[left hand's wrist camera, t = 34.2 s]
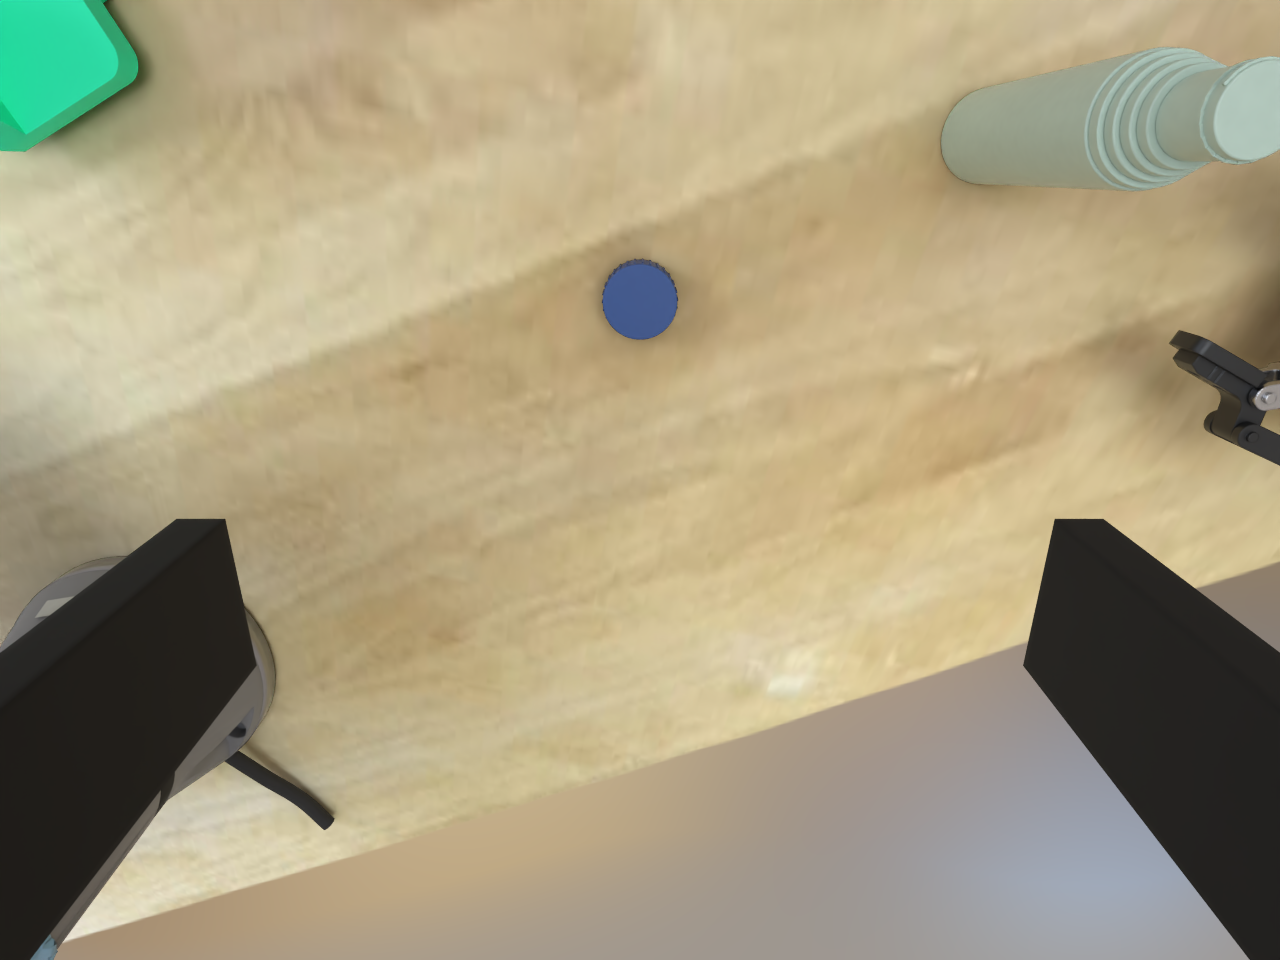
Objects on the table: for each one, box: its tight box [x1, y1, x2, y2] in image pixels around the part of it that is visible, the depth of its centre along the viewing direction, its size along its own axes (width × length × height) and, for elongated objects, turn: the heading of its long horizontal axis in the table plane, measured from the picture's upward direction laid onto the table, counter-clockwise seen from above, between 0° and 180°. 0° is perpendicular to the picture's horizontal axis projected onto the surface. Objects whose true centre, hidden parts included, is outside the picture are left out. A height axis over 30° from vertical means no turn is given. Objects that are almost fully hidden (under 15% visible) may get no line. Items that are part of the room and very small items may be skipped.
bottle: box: [941, 47, 1280, 191], centre depth 30 cm, size 4×4×19 cm
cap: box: [602, 259, 678, 339], centre depth 41 cm, size 4×4×2 cm
